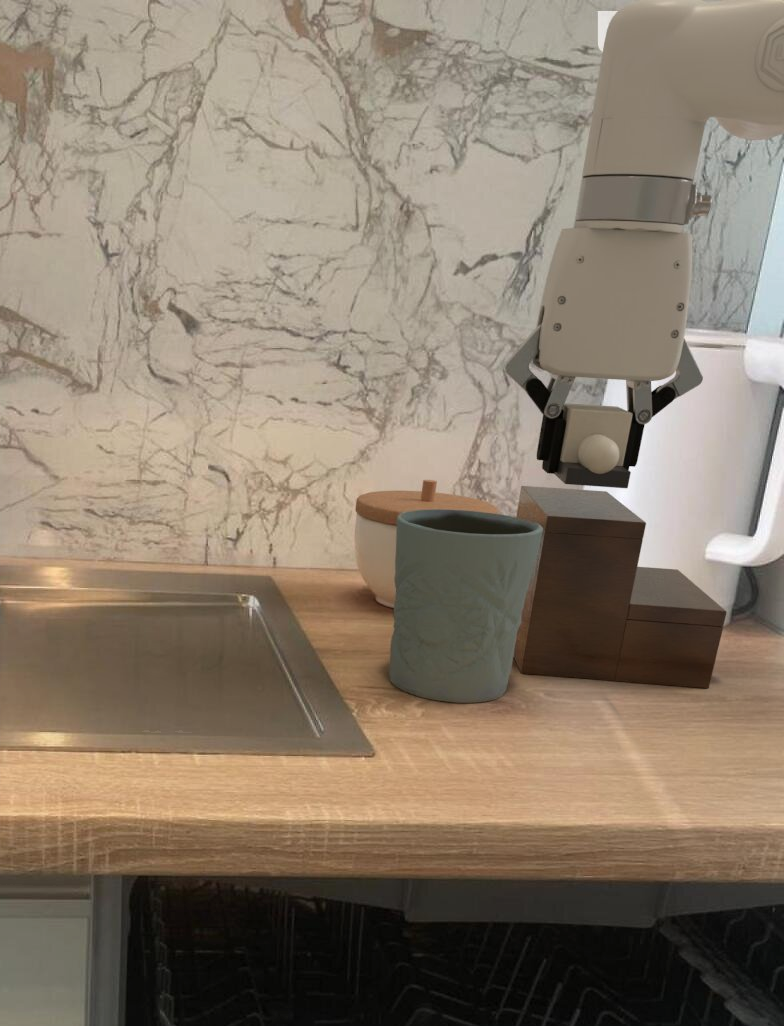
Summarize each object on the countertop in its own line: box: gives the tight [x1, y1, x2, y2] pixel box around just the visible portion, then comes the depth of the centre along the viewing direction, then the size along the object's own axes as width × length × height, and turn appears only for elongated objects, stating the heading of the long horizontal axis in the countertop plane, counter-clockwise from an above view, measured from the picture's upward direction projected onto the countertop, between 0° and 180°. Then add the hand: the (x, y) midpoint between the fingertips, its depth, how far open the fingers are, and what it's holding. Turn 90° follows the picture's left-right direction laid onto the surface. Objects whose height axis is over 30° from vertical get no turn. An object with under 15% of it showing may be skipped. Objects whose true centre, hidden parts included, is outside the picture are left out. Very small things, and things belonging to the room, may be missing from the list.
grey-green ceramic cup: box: [389, 509, 543, 704], centre depth 86 cm, size 10×10×12 cm
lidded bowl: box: [354, 479, 500, 609], centre depth 108 cm, size 13×13×11 cm
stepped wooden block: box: [513, 485, 728, 689], centre depth 95 cm, size 14×14×12 cm
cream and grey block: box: [553, 402, 633, 489], centre depth 89 cm, size 9×4×5 cm, turn 173°
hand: (583, 470), depth 92 cm, fingers closed on cream and grey block, 4 cm apart
